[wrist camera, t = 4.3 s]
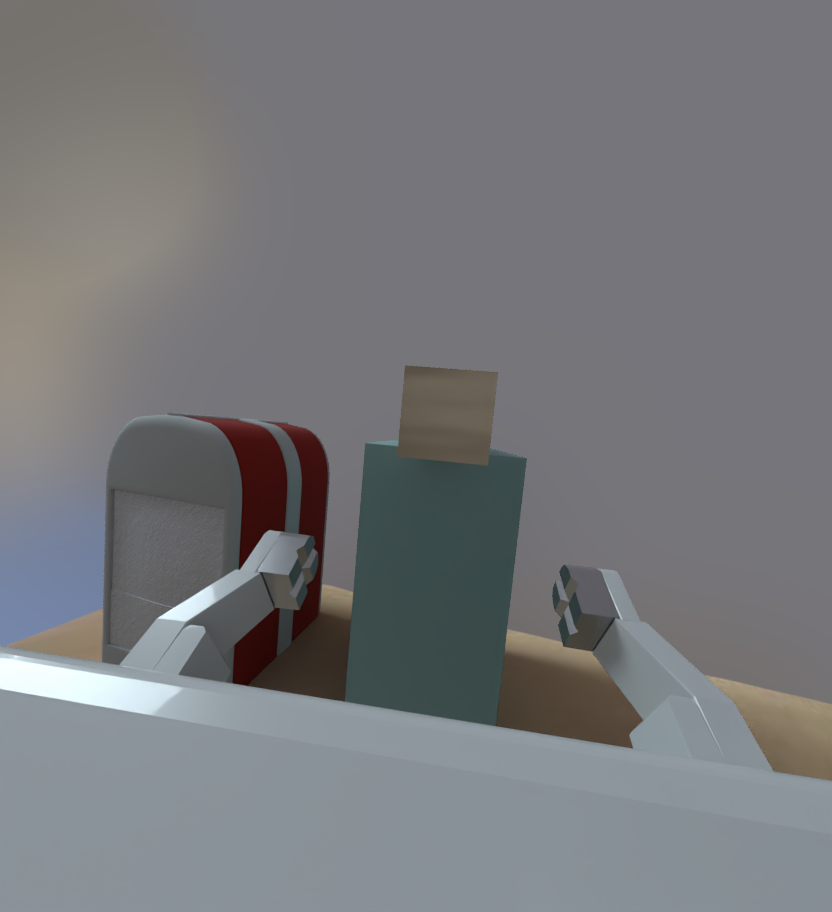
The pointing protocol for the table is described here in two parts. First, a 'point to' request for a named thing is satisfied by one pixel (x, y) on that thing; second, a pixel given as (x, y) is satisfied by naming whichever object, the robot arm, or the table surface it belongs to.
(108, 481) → the red striped toaster
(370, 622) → the tall teal upright box
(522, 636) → the table surface
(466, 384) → the rail
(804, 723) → the table surface
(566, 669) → the table surface
